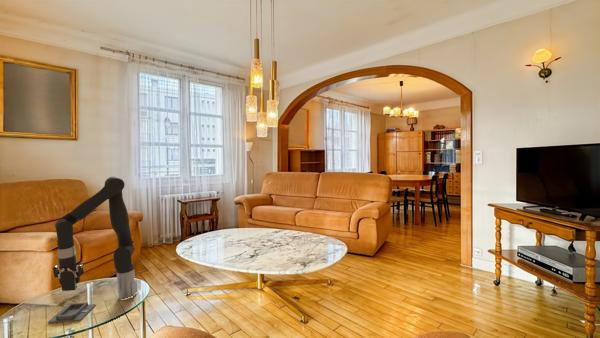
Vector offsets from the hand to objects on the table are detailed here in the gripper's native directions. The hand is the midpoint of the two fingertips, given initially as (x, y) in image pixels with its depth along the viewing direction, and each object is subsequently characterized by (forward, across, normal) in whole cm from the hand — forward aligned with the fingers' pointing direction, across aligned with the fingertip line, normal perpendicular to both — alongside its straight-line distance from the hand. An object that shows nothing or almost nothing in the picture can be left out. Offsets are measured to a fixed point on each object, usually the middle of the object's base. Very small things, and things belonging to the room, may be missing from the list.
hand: (69, 283), depth 156 cm
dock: (+18, 0, 0) cm, 18 cm away
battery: (+4, 0, 0) cm, 4 cm away
